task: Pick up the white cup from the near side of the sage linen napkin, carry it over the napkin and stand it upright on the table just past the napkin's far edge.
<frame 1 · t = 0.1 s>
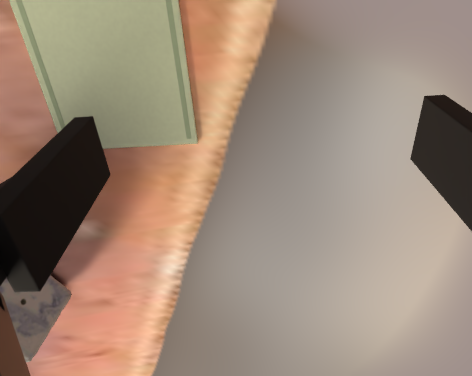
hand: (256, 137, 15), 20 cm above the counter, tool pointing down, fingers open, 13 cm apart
incense holder: (29, 274, 48), on the counter
napkin: (108, 56, 32), on the counter
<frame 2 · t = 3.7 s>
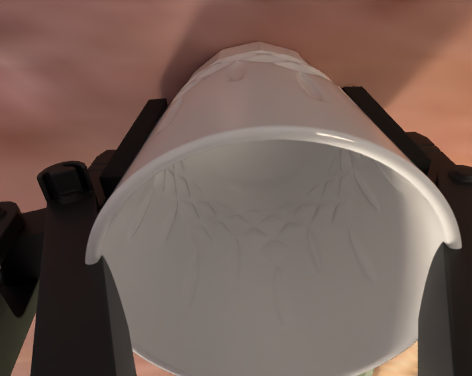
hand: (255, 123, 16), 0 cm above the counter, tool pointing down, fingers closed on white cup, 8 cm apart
white cup: (254, 118, 16), on the counter, touching gripper
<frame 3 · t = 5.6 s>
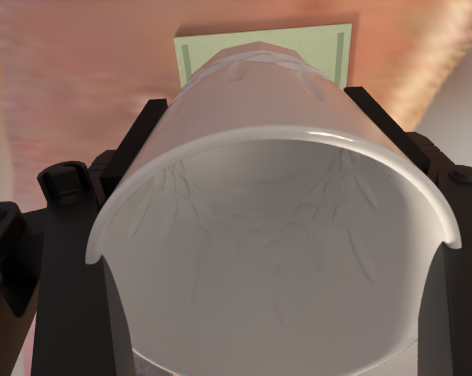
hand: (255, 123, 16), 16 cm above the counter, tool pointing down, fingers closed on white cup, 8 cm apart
incense holder: (139, 321, 49), on the counter
white cup: (254, 118, 16), point 15 cm above the counter, touching gripper
napkin: (265, 134, 33), on the counter
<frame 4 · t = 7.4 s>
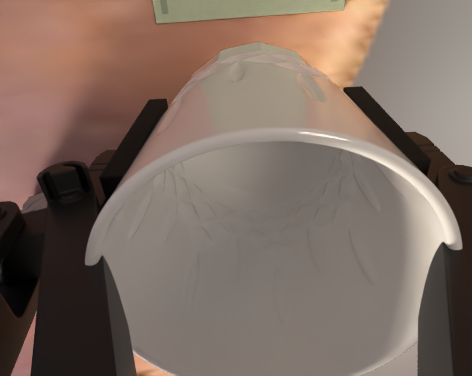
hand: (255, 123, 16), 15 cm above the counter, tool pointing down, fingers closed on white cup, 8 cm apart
incense holder: (86, 216, 38), on the counter
white cup: (254, 118, 16), point 14 cm above the counter, touching gripper
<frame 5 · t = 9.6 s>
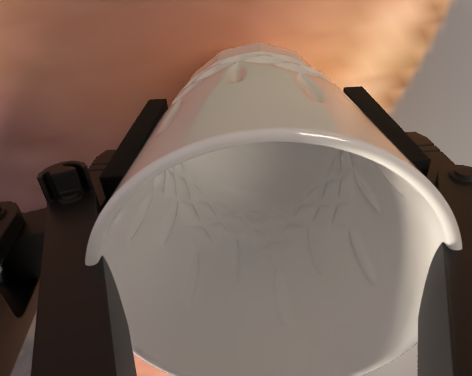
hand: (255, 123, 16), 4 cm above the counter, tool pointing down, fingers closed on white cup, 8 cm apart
incense holder: (26, 270, 28), on the counter
white cup: (254, 119, 16), point 4 cm above the counter, touching gripper
when the fingers open (0 cm above the counter, at t = 11.2 s): white cup stays where it is, on the counter.
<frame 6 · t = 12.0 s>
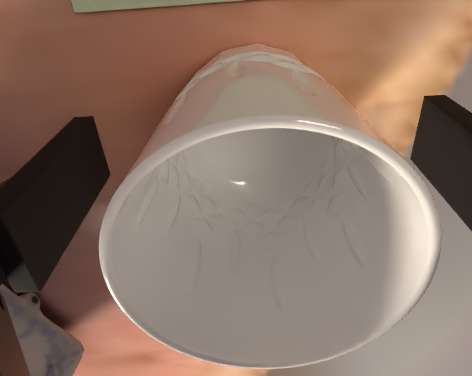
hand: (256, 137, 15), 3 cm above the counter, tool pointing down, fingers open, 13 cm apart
incense holder: (1, 310, 25), on the counter
white cup: (253, 116, 17), on the counter
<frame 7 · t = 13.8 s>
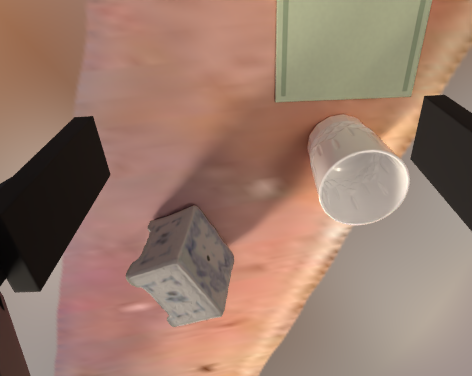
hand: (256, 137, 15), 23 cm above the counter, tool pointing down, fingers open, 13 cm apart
incense holder: (190, 236, 47), on the counter
white cup: (336, 141, 40), on the counter
napkin: (353, 2, 33), on the counter
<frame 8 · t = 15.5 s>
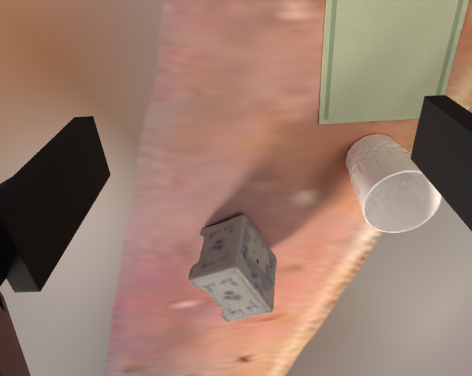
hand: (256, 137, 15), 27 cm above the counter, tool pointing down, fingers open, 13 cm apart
incense holder: (236, 241, 53), on the counter
white cup: (371, 156, 45), on the counter
napkin: (390, 39, 37), on the counter
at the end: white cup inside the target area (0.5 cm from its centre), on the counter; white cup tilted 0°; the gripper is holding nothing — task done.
